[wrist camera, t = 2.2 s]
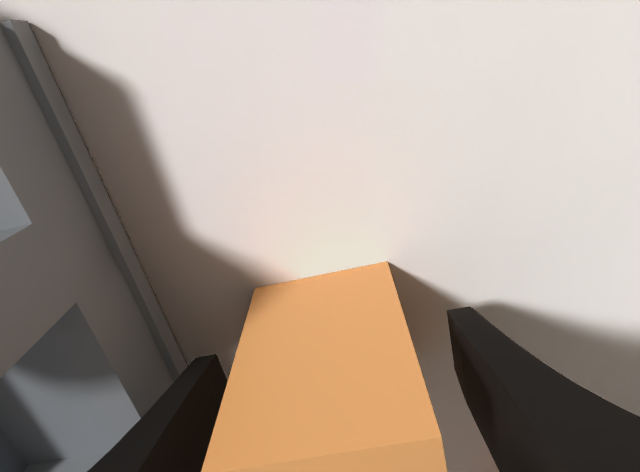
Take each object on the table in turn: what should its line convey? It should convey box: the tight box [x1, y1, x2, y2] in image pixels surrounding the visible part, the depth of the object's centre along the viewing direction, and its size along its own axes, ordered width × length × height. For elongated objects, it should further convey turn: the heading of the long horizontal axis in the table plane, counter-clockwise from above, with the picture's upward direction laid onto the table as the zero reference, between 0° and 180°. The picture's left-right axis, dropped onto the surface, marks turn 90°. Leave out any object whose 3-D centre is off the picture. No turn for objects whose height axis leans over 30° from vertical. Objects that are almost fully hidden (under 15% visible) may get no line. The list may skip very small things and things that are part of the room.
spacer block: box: [201, 262, 447, 472], centre depth 10 cm, size 4×4×6 cm
